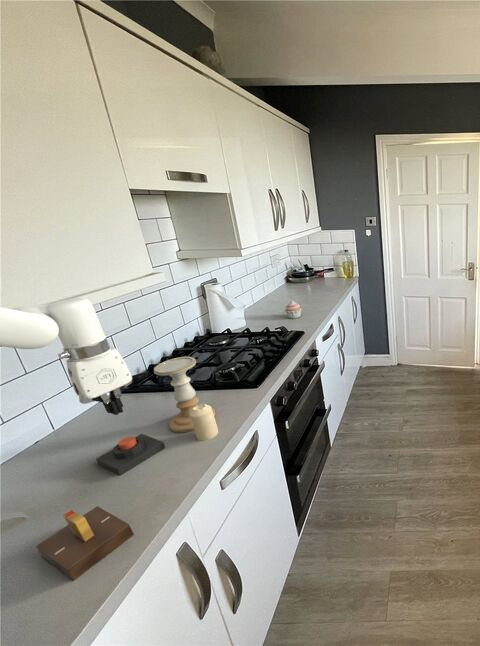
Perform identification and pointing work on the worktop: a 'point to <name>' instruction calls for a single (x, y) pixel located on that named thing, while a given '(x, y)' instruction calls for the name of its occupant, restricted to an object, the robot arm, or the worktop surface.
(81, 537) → the lock knob
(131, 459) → the block
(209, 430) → the candle
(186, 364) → the candle holder
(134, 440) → the release button
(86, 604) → the worktop surface
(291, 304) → the cupcake
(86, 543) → the brown wooden base
